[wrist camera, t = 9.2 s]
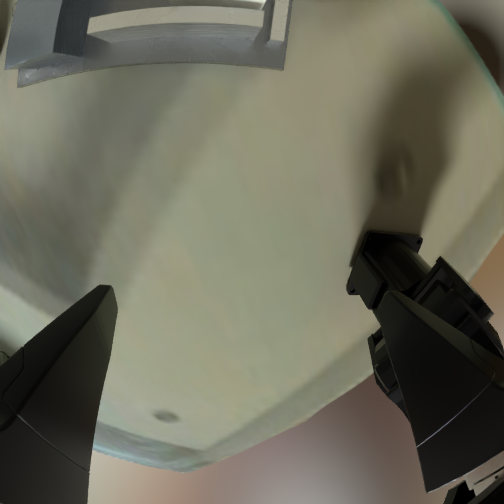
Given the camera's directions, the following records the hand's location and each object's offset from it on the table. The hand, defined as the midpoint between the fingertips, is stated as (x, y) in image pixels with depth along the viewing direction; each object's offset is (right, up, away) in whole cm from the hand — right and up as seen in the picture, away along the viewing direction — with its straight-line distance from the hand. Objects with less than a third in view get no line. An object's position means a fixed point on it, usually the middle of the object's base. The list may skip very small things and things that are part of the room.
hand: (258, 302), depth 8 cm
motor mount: (-7, +18, +2) cm, 20 cm away
